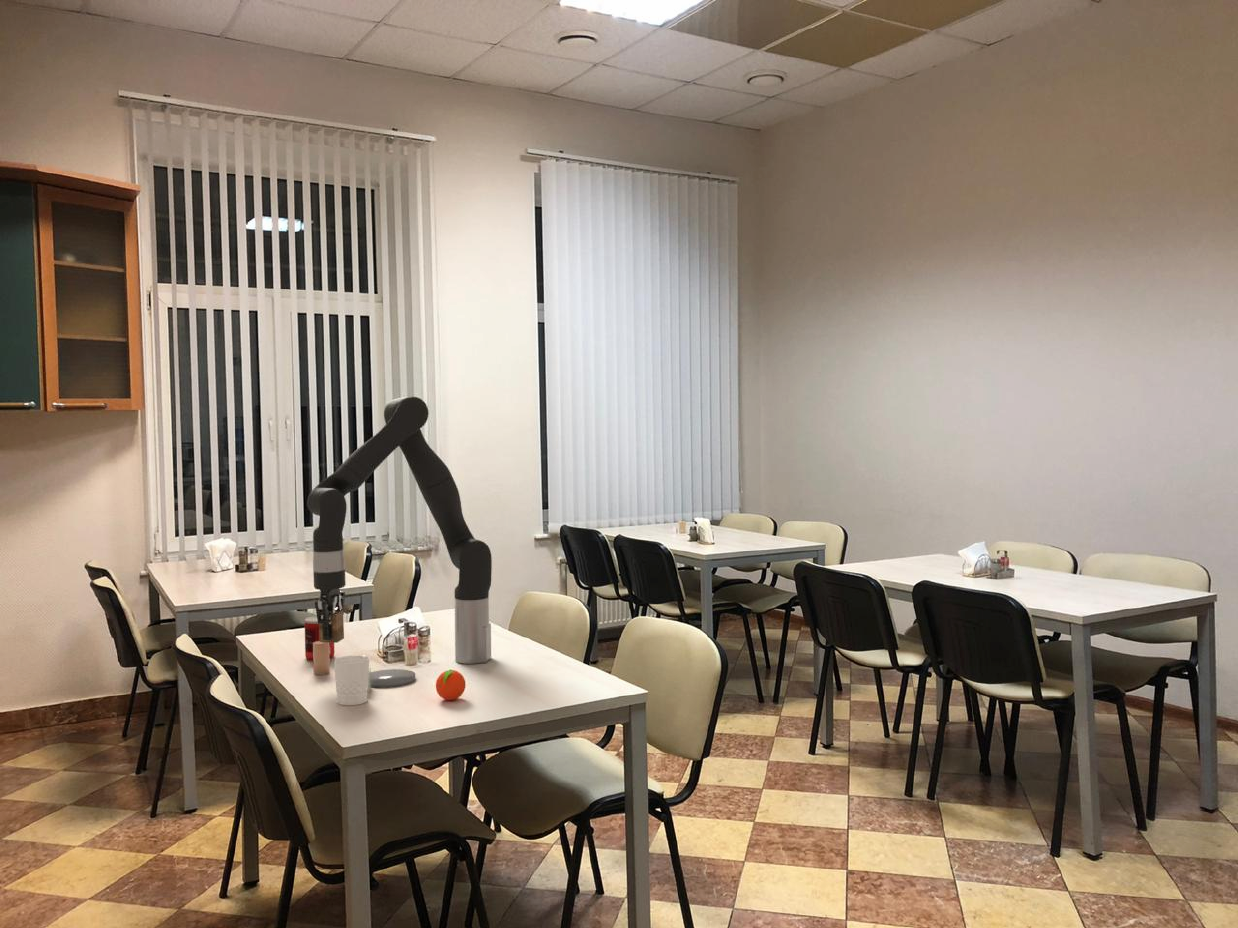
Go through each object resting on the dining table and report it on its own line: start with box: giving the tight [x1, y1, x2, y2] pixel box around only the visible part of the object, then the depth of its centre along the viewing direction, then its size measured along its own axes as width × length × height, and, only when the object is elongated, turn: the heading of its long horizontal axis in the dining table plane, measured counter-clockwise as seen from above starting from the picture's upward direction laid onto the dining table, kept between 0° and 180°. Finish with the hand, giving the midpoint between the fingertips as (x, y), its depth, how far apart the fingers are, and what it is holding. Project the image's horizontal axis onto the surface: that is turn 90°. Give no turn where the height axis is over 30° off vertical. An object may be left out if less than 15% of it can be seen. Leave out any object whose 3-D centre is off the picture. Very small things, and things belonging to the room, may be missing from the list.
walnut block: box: [319, 611, 345, 644], centre depth 240 cm, size 4×4×7 cm
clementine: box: [435, 669, 467, 701], centre depth 227 cm, size 8×7×7 cm
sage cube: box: [368, 667, 372, 695], centre depth 235 cm, size 5×5×5 cm
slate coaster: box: [371, 668, 416, 688], centre depth 245 cm, size 13×13×1 cm
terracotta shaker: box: [312, 641, 331, 676], centre depth 252 cm, size 4×4×8 cm
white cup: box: [333, 654, 370, 706], centre depth 226 cm, size 8×8×10 cm
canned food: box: [304, 615, 335, 662], centre depth 269 cm, size 8×8×11 cm
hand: (331, 636), depth 240 cm, fingers closed on walnut block, 4 cm apart
